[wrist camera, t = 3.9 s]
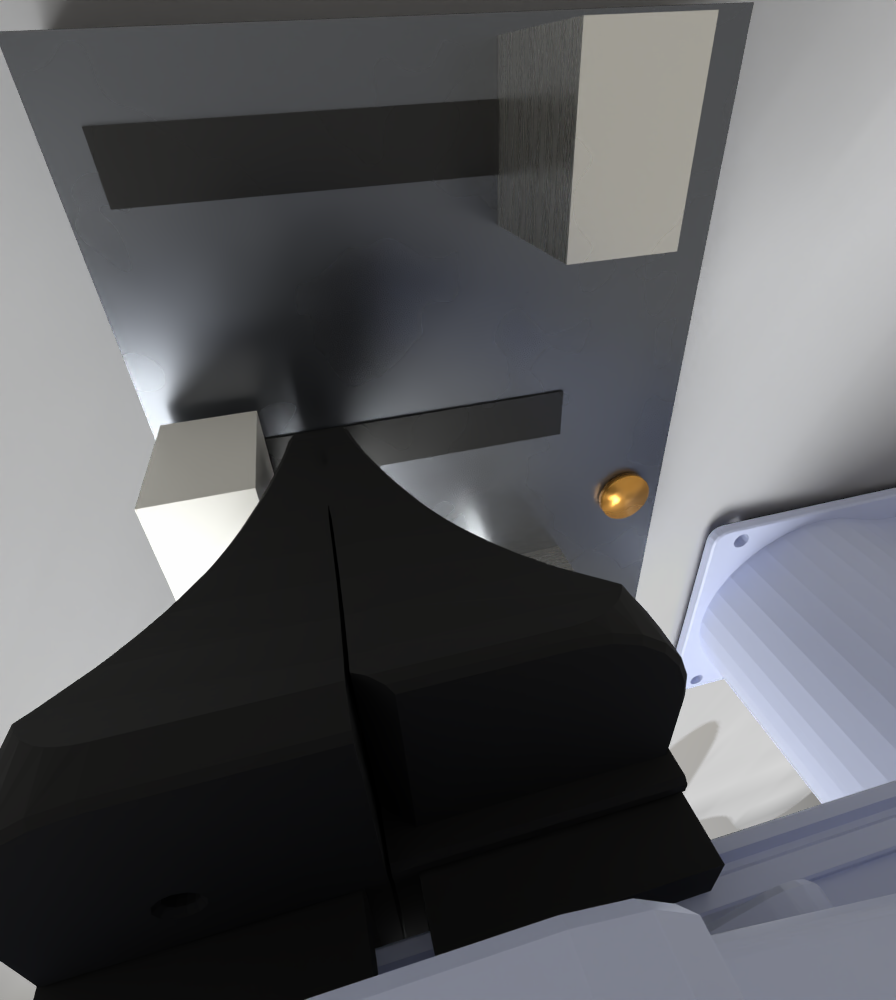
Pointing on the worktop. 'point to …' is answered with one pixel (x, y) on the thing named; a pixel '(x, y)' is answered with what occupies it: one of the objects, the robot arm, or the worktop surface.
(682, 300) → the panel
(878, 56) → the worktop surface
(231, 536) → the white slider knob
